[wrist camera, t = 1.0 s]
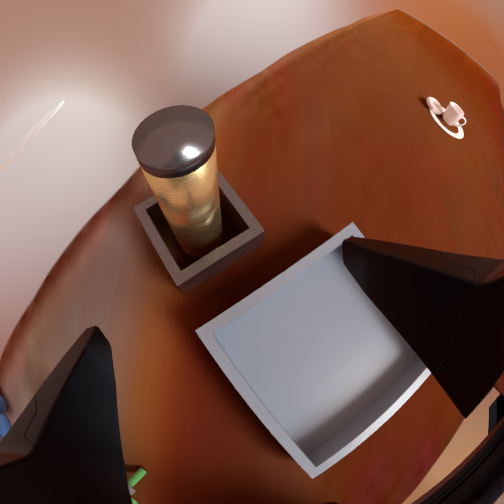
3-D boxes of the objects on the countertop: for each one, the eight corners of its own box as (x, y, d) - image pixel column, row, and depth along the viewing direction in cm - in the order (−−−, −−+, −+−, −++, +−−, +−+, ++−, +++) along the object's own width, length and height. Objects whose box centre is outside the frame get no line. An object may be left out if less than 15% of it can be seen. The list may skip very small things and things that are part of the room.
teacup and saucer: (417, 101, 34) (427, 86, 31) (441, 104, 36) (451, 91, 32) (446, 140, 32) (459, 125, 28) (468, 140, 33) (480, 127, 29)
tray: (420, 358, 21) (442, 358, 18) (302, 462, 18) (312, 478, 14) (338, 237, 25) (352, 222, 21) (201, 331, 21) (194, 330, 18)
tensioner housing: (260, 246, 24) (264, 230, 20) (185, 294, 22) (177, 286, 19) (214, 184, 25) (212, 162, 22) (145, 224, 24) (133, 207, 20)
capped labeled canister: (231, 241, 24) (230, 139, 11) (192, 265, 23) (150, 181, 11) (207, 207, 25) (190, 96, 12) (170, 229, 24) (121, 130, 11)
